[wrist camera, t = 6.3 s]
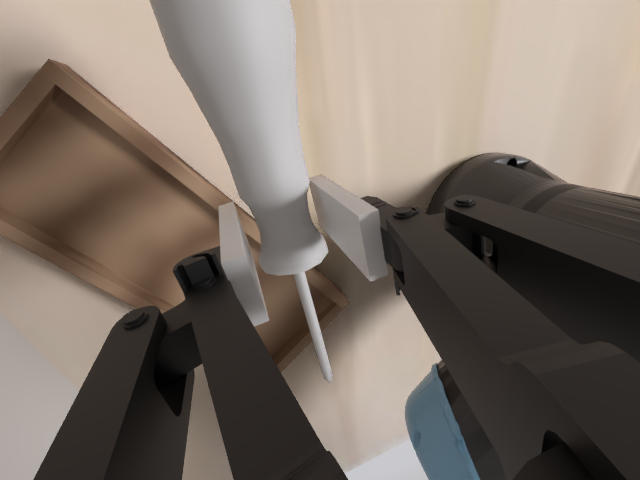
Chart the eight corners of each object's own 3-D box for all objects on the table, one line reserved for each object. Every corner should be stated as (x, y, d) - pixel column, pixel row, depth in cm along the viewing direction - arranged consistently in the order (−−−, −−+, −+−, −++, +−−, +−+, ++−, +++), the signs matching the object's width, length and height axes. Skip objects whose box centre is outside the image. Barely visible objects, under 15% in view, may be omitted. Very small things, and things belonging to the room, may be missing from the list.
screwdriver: (295, 365, 23) (297, 420, 20) (134, -93, 11) (62, -170, 8) (358, 351, 23) (371, 404, 20) (262, -124, 11) (250, -216, 8)
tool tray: (341, 290, 35) (349, 301, 33) (269, 364, 36) (272, 381, 34) (66, 64, 22) (48, 59, 20) (-39, 190, 23) (-67, 199, 21)
